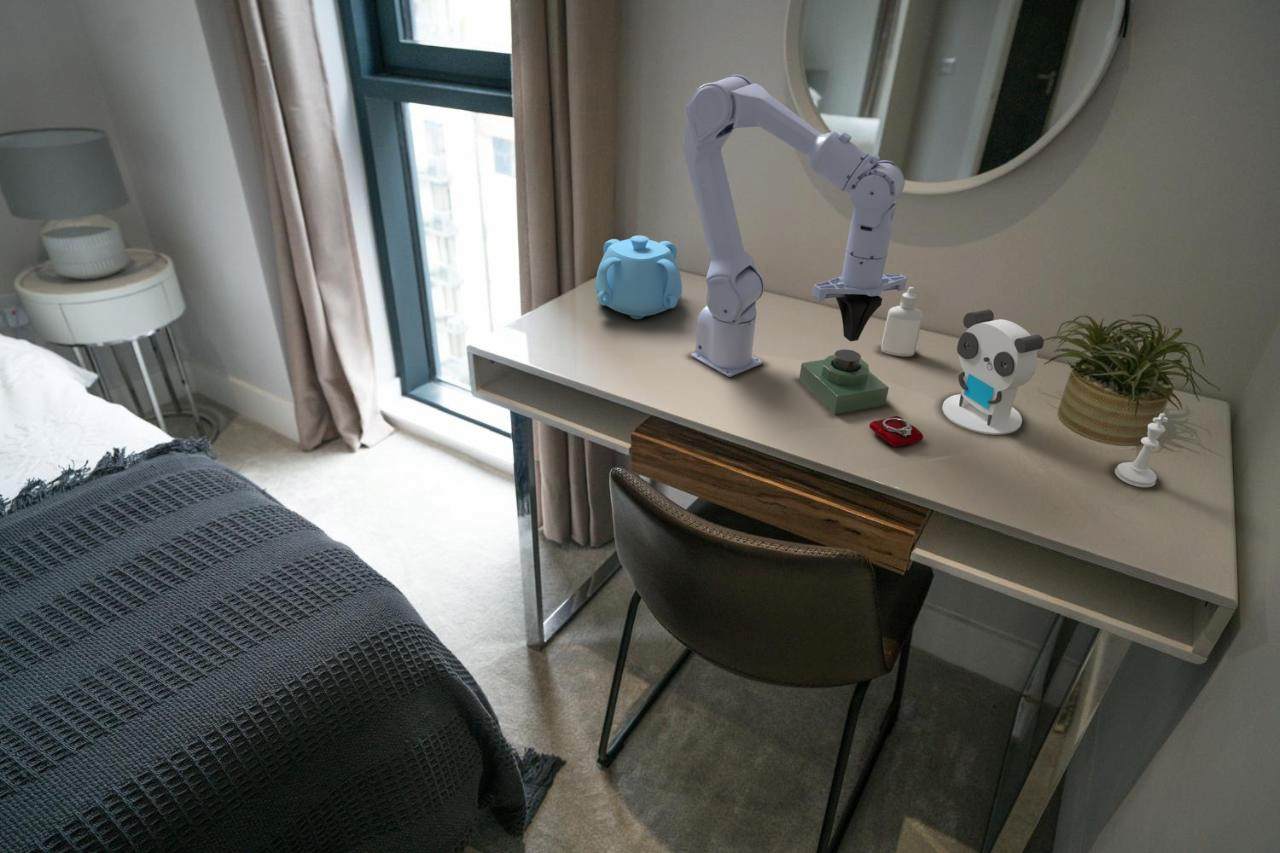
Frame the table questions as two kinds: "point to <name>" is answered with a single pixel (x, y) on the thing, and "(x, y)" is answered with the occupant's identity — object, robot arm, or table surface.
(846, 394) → the green button base
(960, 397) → the panda figurine
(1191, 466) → the table surface
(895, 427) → the engagement ring
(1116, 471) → the chess piece
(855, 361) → the black push button
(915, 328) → the eye dropper bottle
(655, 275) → the decorative pot
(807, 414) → the table surface
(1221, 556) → the table surface
